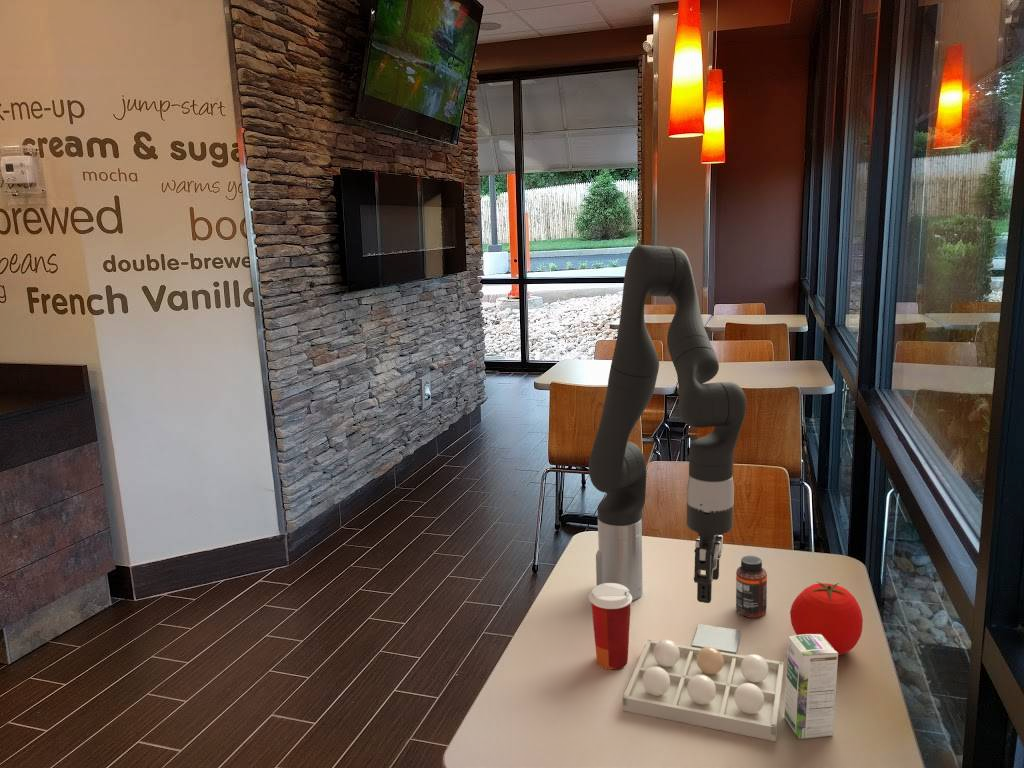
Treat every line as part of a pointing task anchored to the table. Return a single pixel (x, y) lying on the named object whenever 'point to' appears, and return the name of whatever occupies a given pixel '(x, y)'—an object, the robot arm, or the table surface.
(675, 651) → the white egg back left
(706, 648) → the brown egg
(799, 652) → the syrup box
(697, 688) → the white egg front middle
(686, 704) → the carton
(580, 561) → the table surface
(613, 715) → the table surface
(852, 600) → the tomato
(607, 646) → the paper cup
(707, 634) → the slate coaster
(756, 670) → the white egg back right
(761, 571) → the supplement bottle
